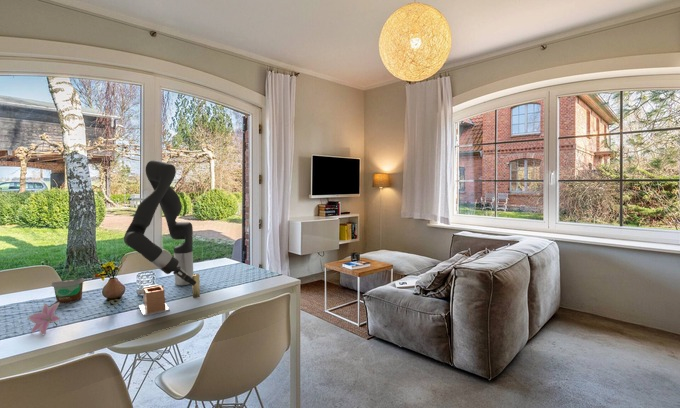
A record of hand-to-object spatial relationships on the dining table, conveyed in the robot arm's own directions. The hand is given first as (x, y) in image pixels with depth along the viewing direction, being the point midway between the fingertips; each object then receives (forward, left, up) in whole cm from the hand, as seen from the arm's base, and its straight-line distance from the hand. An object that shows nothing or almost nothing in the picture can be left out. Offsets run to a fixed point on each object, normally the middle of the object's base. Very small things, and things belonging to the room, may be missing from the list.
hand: (192, 281), depth 166 cm
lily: (+3, -54, -8) cm, 54 cm away
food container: (-30, -47, -8) cm, 57 cm away
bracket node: (+4, -17, -8) cm, 20 cm away
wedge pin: (0, +2, -8) cm, 8 cm away
